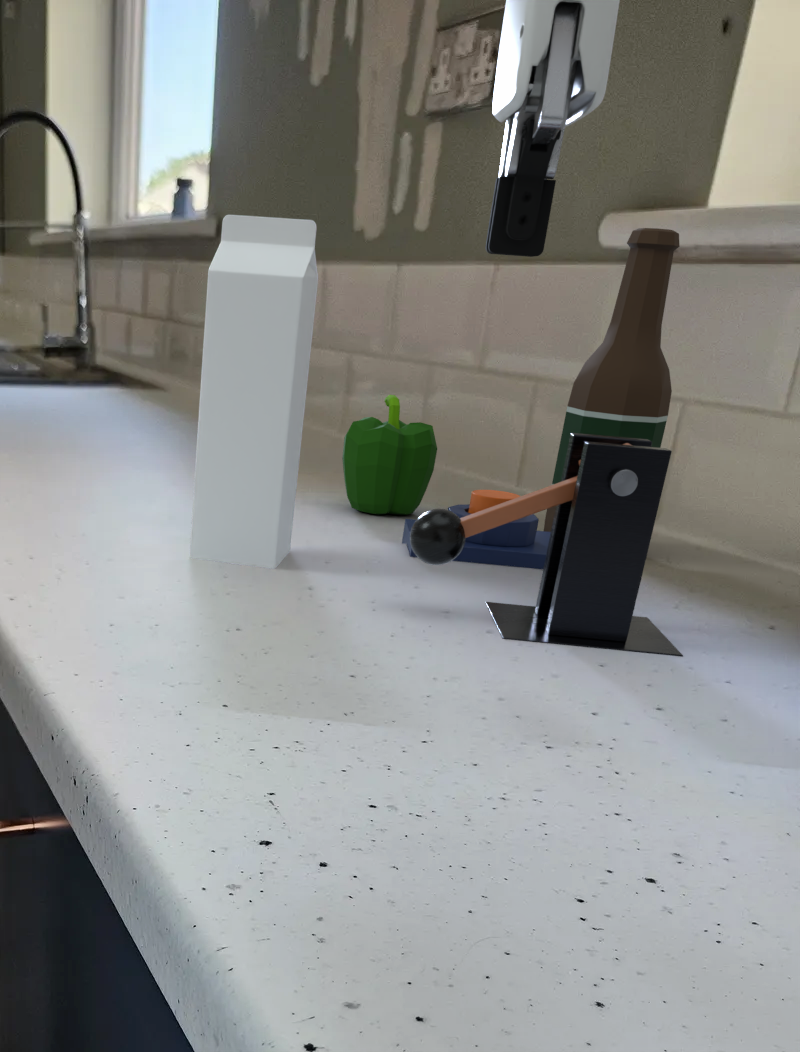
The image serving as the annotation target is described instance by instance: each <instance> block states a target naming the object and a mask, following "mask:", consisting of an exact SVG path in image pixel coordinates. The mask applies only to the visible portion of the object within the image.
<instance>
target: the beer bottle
mask: <svg viewBox="0 0 800 1052" xmlns="http://www.w3.org/2000/svg"><path fill="white" fill-rule="evenodd" d="M626 244H627V245H628V247H629V248H630V249H629V251H628V255H627V259H626V264H625V267H624V271H623V275H622V278H621V282H620V286H619V289H618V292H617V297H616V301H615V305H614V307H613V312H612V316H611V320H610V323H609V325H608V328H607V331H606V333H605V335H604V338H603V341H602V343H601V344H600V345H598V347H597V348H596V349H595V351H594V352H592V354H591V355H590V356H589V357H588V358H587V359H586V361H585V362H584V364H583V365H582V367H581V369H580V371H578V374H577V376H576V377H575V380H574V381H573V383H572V388H571V392H570V395H569V398H568V403H567V405H566V411H565V416H564V421H563V426H562V431H561V437H560V442H559V446H558V451H557V456H556V462H555V467H554V472H553V477H552V482H551V485H554V484H556V483H559V482H561V479H562V474H563V469H564V464H565V459H566V454H567V449H568V444H569V439H570V434H571V433H580V434H592V435H604V436H615V437H627V438H639V439H648V440H650V441H652V446H651V447H657V448H662V442H663V438H664V434H665V430H666V425H667V421H668V417H669V412H670V405H671V404H670V403H671V399H672V394H673V393H672V392H673V390H672V380H671V372H670V367H669V365H668V362H667V360H666V358H665V356H664V355H665V354H664V353H663V350H662V347H661V346H662V345H661V344H662V327H663V326H662V325H663V319H664V314H665V308H666V303H667V295H668V289H669V283H670V276H671V271H672V265H673V259H674V253H675V251H676V250H677V249H679V248H680V233H678V232H677V231H675V230H673V229H668V228H658V227H655V228H653V227H652V228H651V227H639V228H635V229H633V230H632V231H631V233H630V235H629V237H628V240H627V241H626ZM555 509H556V506H554V507H551V508H549V509H546V511H545V518H544V524H543V525H544V526H543V531H545V532H551V529H552V524H553V519H554V514H555Z"/></svg>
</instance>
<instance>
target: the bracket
mask: <svg viewBox="0 0 800 1052" xmlns="http://www.w3.org/2000/svg"><path fill="white" fill-rule="evenodd" d="M625 443H629V444H631V445H622V444H625ZM651 446H652V441H650V440H648V439H639V438H627V437H615V436H604V435H592V434H580V433H571V434H570V439H569V444H568V449H567V454H566V459H565V464H564V469H563V474H562V479H561V482H562V481H565V480H568V479H570V478H573V477H576V476H577V481H576V486H575V491H574V495H573V500H571V501H568V502H566V503H563V504H560V505H557V506H556V509H555V514H554V519H553V524H552V529H551V534H550V539H549V544H548V548H547V553H546V558H545V563H544V568H543V569H542V573H541V578H540V583H539V584H540V585H539V589H538V594H537V599H536V604H535V605H534V606H533V605H524V604H523V605H522V604H514V603H513V604H512V603H502V602H493V601H485V606H486V609H488V612H489V615H490V616H491V618H492V620H493V622H494V624H495V626H496V629H497V631H498V633H499V635H500V637H501V639H502V640H509V641H519V642H529V643H530V642H531V643H541V644H550V645H560V646H570V647H571V646H572V647H581V648H589V649H591V648H592V649H600V650H609V651H610V650H611V651H623V652H631V653H632V652H633V653H640V654H641V653H642V654H650V655H662V656H673V657H680V658H681V657H684V654H682V653H681V652H680V650H678V648H677V647H676V646H675V645H674V644H673V643H672V642H671V641H670V640H669V639H668V637H666V636H665V634H664V633H662V631H661V630H660V629H659V628H658V627H657V626H656V625H655V624H654V622H652V620H650V619H649V618H648V617H647V616H637V615H634V611H635V607H636V603H637V599H638V594H639V590H640V586H641V582H642V578H643V574H644V569H645V565H646V561H647V557H648V552H649V549H650V544H651V541H652V536H653V532H654V527H655V523H656V518H657V514H658V510H659V506H660V502H661V498H662V495H663V489H664V485H665V483H666V482H665V481H666V478H667V474H668V470H669V469H668V468H669V464H670V461H671V457H672V452H673V451H672V450H671V449H669V448H667V447H660V448H657V447H651ZM579 460H581V461H580V466H579Z"/></svg>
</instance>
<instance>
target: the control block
mask: <svg viewBox="0 0 800 1052" xmlns="http://www.w3.org/2000/svg"><path fill="white" fill-rule="evenodd" d="M469 505H470V503H469V504H468V503H467V504H454V505H451V506H448V507H447V510H449V511H451V512H453V513H455V514H456V515H457V516H458V517H459V518H462V517H465V516H468V515H470V513H468V511H469ZM416 520H417V519H412V518H405V519H404V526H403V532H402V539H401V544H402V545H406V547H407V551H408V553H409V557H410V558H417V559H419V558H418V557H417V556H416V555H415V553H414V552H413V550H412V548H411V544H410V532H411V529H412V526H413V524H414V523H415V521H416ZM539 522H540V520H539V518H538V517H537V515H536V514H532V515H529V516H526V517H523V518H521V519H518V520H515V521H512V522H509V523H507V524H504V525H501V526H498V527H495V528H492V529H490V530H487V531H484V532H481V533H478V534H476V535H473V536H470V537H467V538H466V541H465V545H464V547H463V549H462V551H461V553H460V554H459V555H458V556H457V557H456V558H455V559H454V560H452V561H451V562H460V563H471V564H481V565H493V566H503V567H504V566H505V567H514V568H525V569H536V570H543V568H544V563H545V558H546V553H547V548H548V544H549V539H550V534H551V532H545V531H544V530H538V525H539Z"/></svg>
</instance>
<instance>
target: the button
mask: <svg viewBox="0 0 800 1052" xmlns="http://www.w3.org/2000/svg"><path fill="white" fill-rule="evenodd" d="M520 496H521V495H519V494H517V493H514V492H508V491H503V490H494V489H474V490H472V491H471V494H470V499H469V504H470V505H469V511H468V513H470V514H473V513H476V512H479V511H482V510H484V509H487V508H490V507H493V506H495V505H498V504H501V503H504V502H507V501H509V500H512V499H515V498H518V497H520Z"/></svg>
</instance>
